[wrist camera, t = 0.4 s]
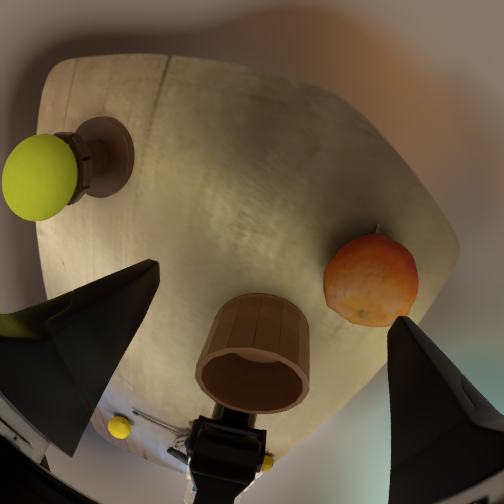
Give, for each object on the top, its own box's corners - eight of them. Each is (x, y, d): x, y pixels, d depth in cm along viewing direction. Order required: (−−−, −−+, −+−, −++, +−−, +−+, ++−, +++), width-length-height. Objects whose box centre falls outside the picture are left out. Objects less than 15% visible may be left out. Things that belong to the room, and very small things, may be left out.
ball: (93, 211, 20) (38, 245, 14) (45, 197, 20) (-6, 224, 14) (96, 130, 17) (31, 144, 11) (45, 128, 17) (-13, 142, 11)
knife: (223, 440, 37) (210, 429, 37) (175, 451, 44) (165, 442, 45) (227, 434, 38) (214, 423, 38) (179, 447, 46) (169, 438, 46)
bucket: (292, 369, 31) (288, 421, 25) (210, 349, 32) (192, 398, 25) (322, 307, 27) (327, 364, 20) (223, 281, 27) (200, 333, 20)
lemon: (127, 424, 51) (126, 443, 46) (105, 417, 48) (104, 437, 44) (135, 415, 48) (135, 437, 44) (112, 409, 46) (111, 430, 41)
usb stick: (166, 447, 52) (165, 452, 50) (174, 446, 51) (173, 451, 50) (189, 463, 55) (189, 468, 53) (197, 462, 54) (197, 467, 53)
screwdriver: (276, 455, 44) (136, 401, 45) (274, 469, 41) (128, 414, 42) (269, 460, 46) (135, 408, 46) (267, 473, 43) (128, 420, 43)
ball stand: (131, 201, 25) (94, 224, 19) (73, 188, 25) (35, 206, 20) (139, 119, 21) (97, 122, 16) (77, 116, 21) (35, 121, 16)
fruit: (437, 253, 21) (431, 332, 16) (375, 278, 27) (356, 346, 23) (385, 190, 19) (370, 269, 15) (323, 230, 26) (293, 298, 22)
